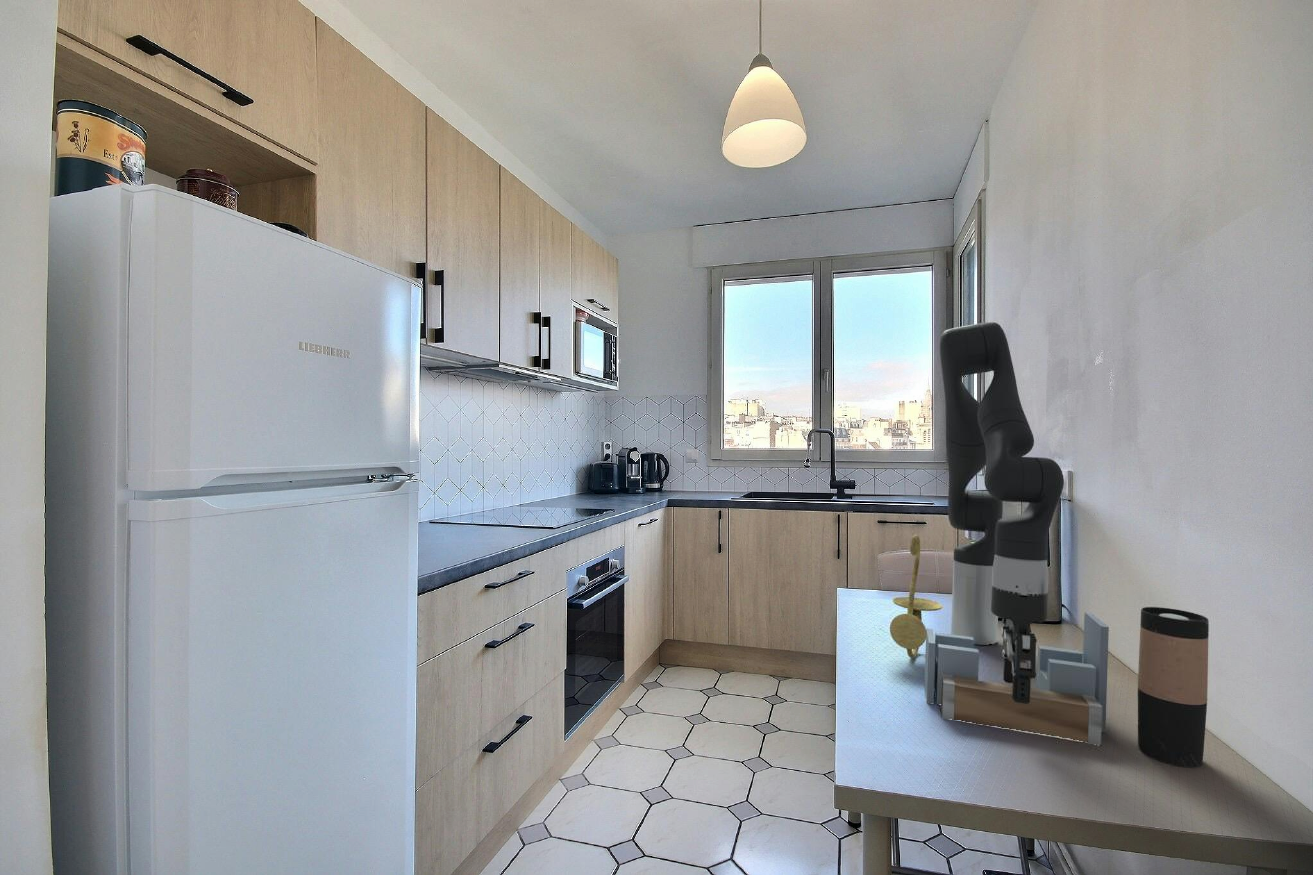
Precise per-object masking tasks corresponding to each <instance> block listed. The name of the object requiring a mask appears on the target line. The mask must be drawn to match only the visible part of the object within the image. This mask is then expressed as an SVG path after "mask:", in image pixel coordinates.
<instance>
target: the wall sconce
mask: <svg viewBox="0 0 1313 875" xmlns="http://www.w3.org/2000/svg"><path fill="white" fill-rule="evenodd" d="M909 549H910V555H912V556H913V557H914V561H913V568H912V572H911V573H912V574H911V579H910V580H911V581H910V586H909V594H908V596H898V597H895V598H893V599H892V602H893V604H894V605H896V606H898V607H901V608H903V609H907V611H906V613H901V614H898V615H896V616H895V617H893V619H892V620H891V622H890V625H889V634H890V637H891V638H892V640H893V642H895V643H896V644H897V645H898V646H899V647H900V648H903V649H906V652H907V656H908V658H910V659H915V657H916V656H917V654H918V652H919V649H920V647H921V646H923V645H924V643H926V628H927V627H926V626H925V624H924V623H923V620H922V619H923V618H922V611H923V612H926V611H927V612H935V611H940V610H942V609H943V607H944V606H943V605H942V603H940V602H937V601H934V600H931V599H926V598H921V597H915V593H916V584H917V580H918V579H917V578H918V572H919V566H920V559H921V541H920V536H919V535H918V534H913V536H912V537H911V540H910V547H909Z"/></svg>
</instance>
